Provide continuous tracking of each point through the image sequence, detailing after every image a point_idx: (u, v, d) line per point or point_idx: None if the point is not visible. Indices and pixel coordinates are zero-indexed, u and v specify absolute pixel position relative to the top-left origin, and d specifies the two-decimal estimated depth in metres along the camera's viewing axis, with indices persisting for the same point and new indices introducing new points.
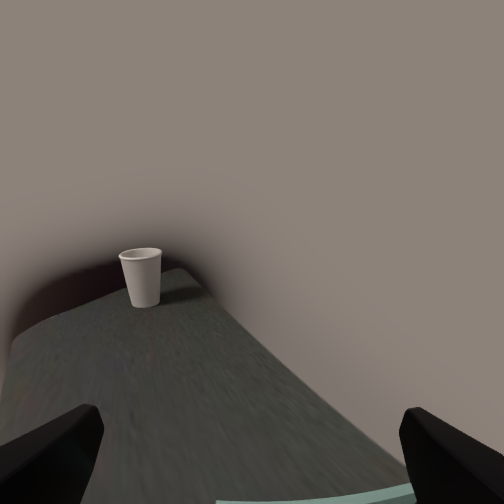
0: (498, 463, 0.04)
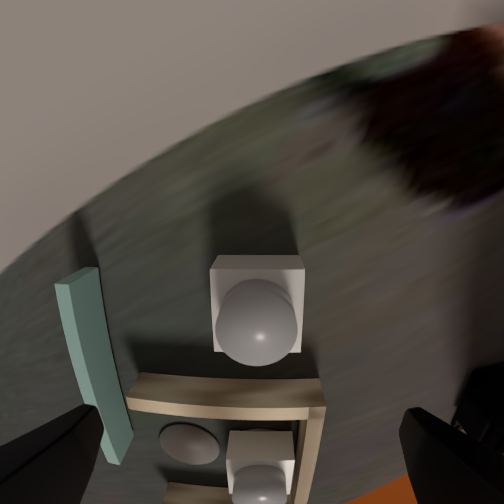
0: (498, 463, 0.04)
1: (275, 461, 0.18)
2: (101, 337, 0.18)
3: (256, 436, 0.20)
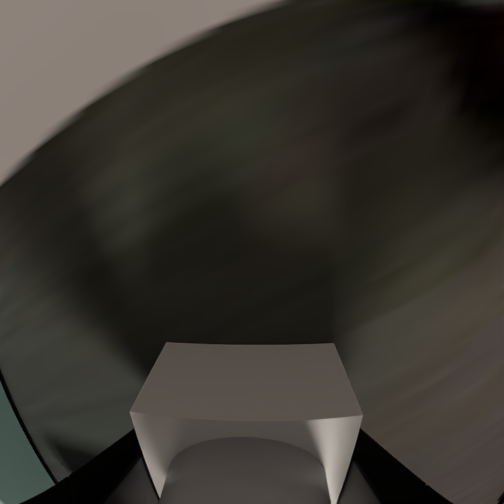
0: (415, 493, 0.04)
1: None
2: (10, 440, 0.08)
3: None
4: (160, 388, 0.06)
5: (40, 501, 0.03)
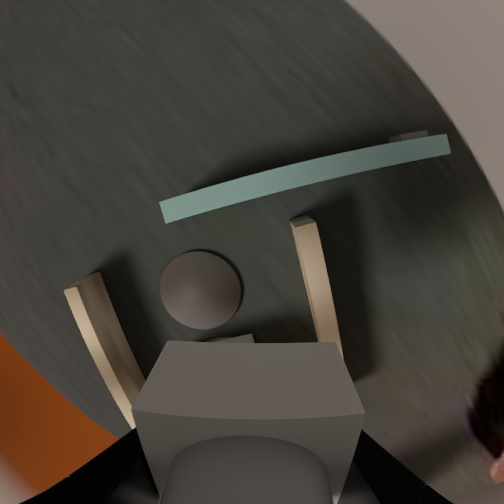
0: (415, 493, 0.04)
1: None
2: None
3: None
4: (162, 386, 0.06)
5: (40, 501, 0.03)
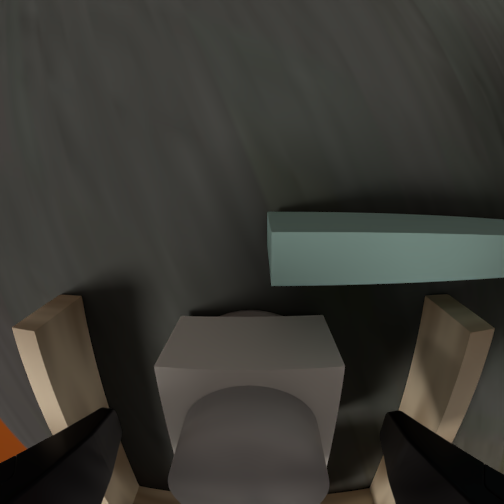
0: (477, 472, 0.04)
1: None
2: None
3: None
4: (178, 349, 0.08)
5: None
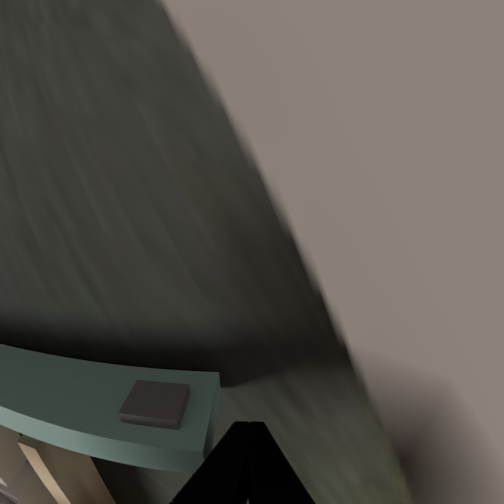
0: None
1: None
2: None
3: (46, 489, 0.12)
4: None
5: None
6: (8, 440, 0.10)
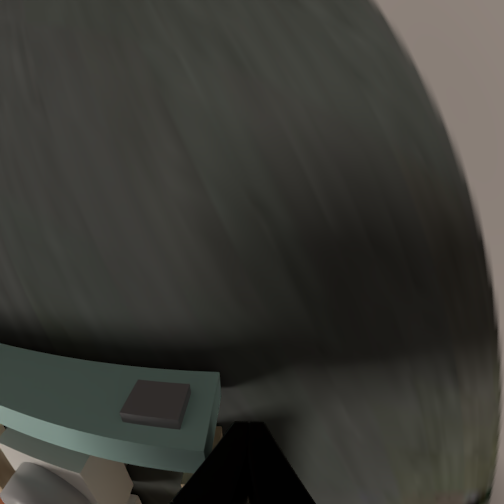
0: None
1: None
2: None
3: None
4: (12, 431, 0.09)
5: None
6: (116, 476, 0.10)
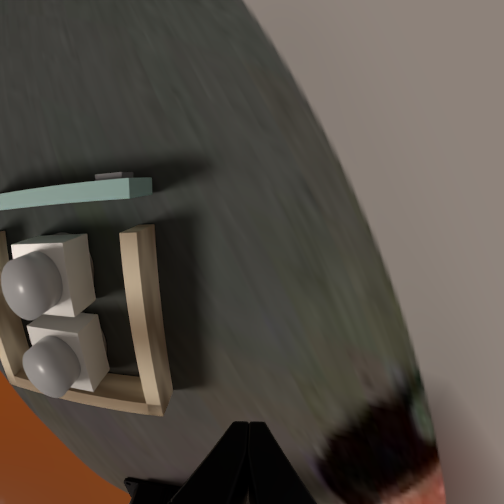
0: None
1: (87, 377, 0.18)
2: None
3: (99, 342, 0.20)
4: (23, 241, 0.17)
5: None
6: (84, 276, 0.18)
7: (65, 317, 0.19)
